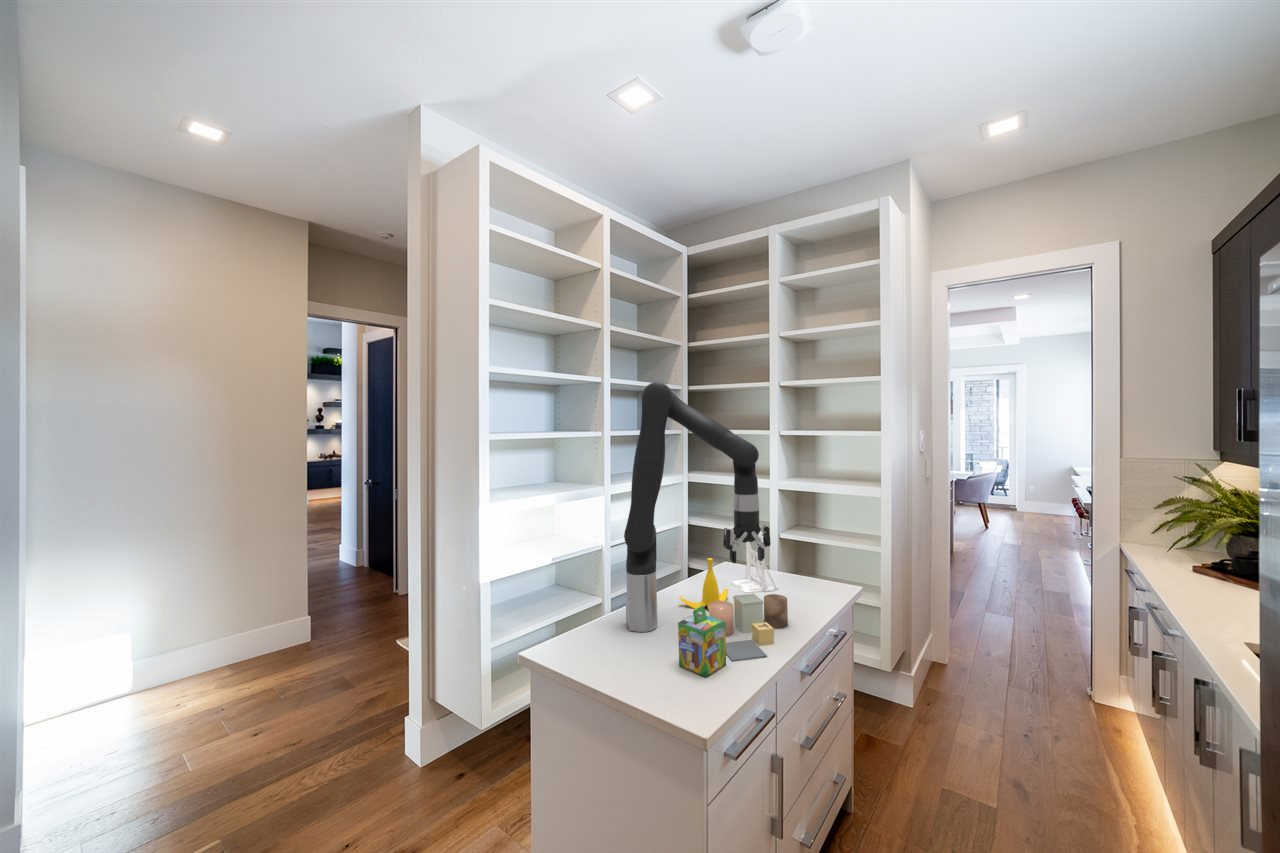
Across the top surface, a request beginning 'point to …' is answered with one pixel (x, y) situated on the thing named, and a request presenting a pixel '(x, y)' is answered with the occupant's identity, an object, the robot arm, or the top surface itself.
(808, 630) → the top surface
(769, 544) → the robot arm
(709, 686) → the top surface
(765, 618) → the canister
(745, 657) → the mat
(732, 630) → the canister
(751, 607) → the pale green square canister
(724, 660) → the chalk box
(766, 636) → the letter cube
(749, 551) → the film strip holder
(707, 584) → the banana peel
